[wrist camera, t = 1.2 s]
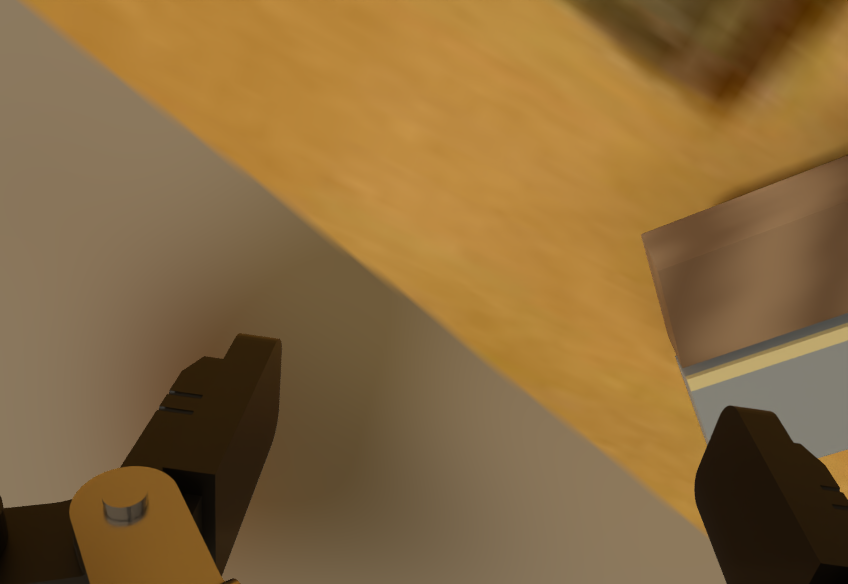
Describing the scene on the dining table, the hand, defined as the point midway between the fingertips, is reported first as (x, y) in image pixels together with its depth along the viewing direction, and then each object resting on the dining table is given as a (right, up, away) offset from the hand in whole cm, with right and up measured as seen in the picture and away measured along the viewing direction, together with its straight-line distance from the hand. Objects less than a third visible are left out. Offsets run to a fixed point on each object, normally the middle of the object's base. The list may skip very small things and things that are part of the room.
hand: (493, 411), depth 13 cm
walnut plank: (+17, +5, +20) cm, 27 cm away
